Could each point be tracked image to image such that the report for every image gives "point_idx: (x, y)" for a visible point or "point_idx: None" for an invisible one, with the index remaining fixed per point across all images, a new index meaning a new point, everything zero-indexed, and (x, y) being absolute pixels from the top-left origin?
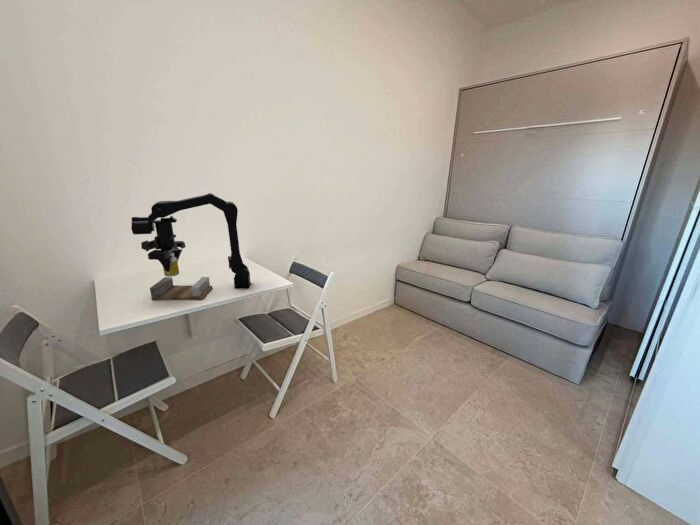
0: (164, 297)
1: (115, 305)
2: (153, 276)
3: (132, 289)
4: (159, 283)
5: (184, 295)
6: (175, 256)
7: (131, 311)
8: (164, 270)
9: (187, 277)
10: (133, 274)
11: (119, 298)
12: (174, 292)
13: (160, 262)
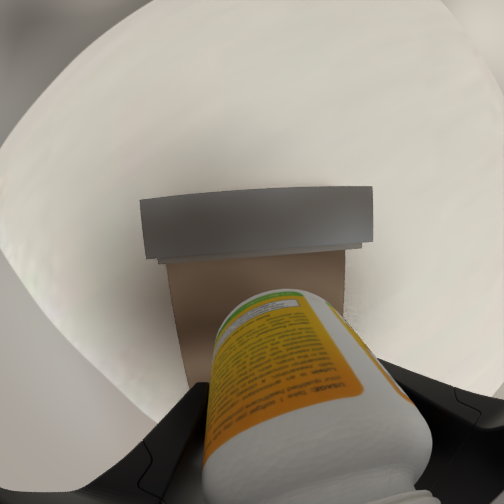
0: (168, 274)
1: (108, 69)
2: (449, 68)
3: (302, 26)
4: (239, 218)
5: (202, 366)
6: (429, 475)
7: (53, 184)
8: (218, 356)
9: (461, 227)
10: (437, 2)
11: (185, 30)
12: (237, 298)
13: (108, 470)
